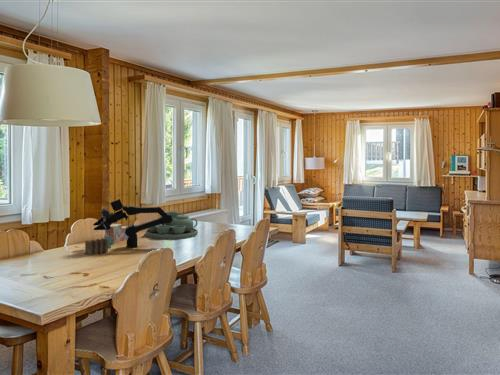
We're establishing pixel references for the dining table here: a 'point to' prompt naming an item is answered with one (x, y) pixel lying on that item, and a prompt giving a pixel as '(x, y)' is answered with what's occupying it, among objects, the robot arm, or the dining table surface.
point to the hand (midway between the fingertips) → (93, 227)
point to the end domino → (108, 240)
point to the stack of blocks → (116, 233)
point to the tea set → (174, 228)
